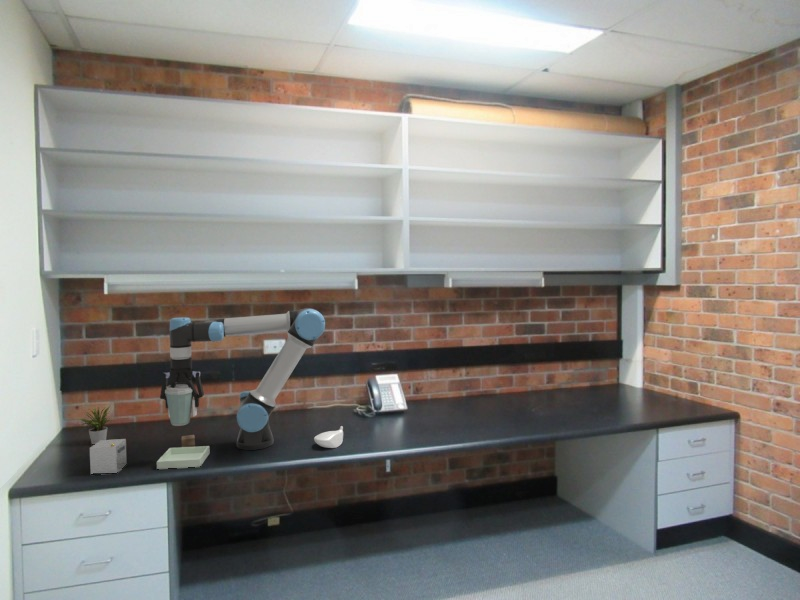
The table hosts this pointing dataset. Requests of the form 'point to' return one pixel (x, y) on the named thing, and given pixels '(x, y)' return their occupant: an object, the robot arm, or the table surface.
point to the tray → (183, 457)
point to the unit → (108, 456)
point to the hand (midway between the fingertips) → (182, 415)
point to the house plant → (97, 425)
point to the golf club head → (330, 438)
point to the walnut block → (188, 441)
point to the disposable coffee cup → (179, 404)
